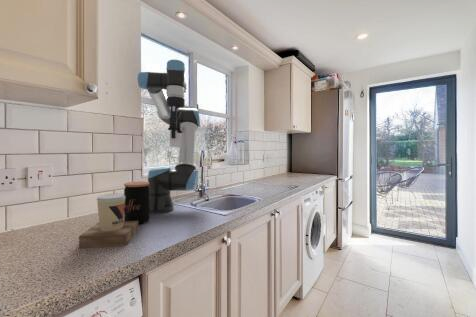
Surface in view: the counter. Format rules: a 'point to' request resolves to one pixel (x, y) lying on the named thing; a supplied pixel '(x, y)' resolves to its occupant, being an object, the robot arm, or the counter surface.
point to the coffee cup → (111, 211)
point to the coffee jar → (137, 202)
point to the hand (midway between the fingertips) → (175, 146)
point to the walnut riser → (108, 236)
